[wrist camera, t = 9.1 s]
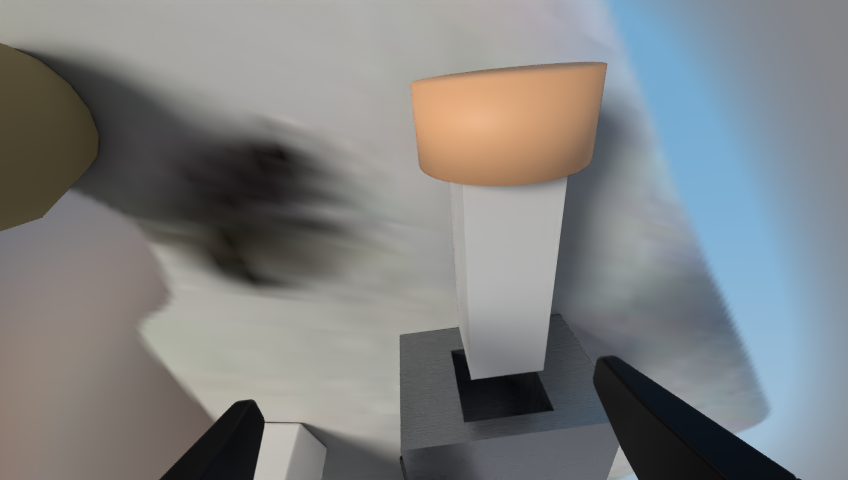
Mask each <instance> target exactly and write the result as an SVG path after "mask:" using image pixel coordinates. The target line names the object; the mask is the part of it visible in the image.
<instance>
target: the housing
mask: <svg viewBox="0 0 848 480" xmlns="http://www.w3.org/2000/svg"><path fill="white" fill-rule="evenodd" d="M594 370H595V367H594V366H593V364H592V363H591V361H590V359H589V358H588V356H587V355H586V353H585V352H584V350H583V349H582V347H581V346H580V344H579V342H578V341H577V339H576V338H575V336H574V335H573V333H572V332H571V330H570V328H569V327H568V325H567V324H566V322H565V321H564V319H563V318H562V316H561V315H560V314H559V315H551V316H550V321H549V329H548V337H547V345H546V353H545V361H544V369H543V370H541V371H533V372H526V373H518V374H511V375H503V376H496V377H488V378H481V379H473V380H471V376H470V372H469V367H468V363H467V359H466V354H465V350H464V346H463V342H462V337H461V333H460V329H459V328H451V329H444V330H436V331H428V332H421V333H413V334H405V335H400V417H401V453H402V457H403V461H404V465H405V469H406V473H407V477H408V480H607V477H608V474H609V472H610V469H611V466H612V463H613V461H614V458H615V455H616V453H617V450H618V447H619V442H618V440H617V438H616V435H615V433H614V431H613V428H612V426H611V424H610V422H609V419H608V417H607V415H606V412H605V410H604V408H603V405H602V403H601V401H600V399H599V396H598V394H597V392H596V389H595V387H594V384H593V374H594Z"/></svg>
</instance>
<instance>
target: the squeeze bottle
mask: <svg viewBox="0 0 848 480" xmlns="http://www.w3.org/2000/svg"><path fill="white" fill-rule="evenodd" d="M98 141H99V134H98V132H97V129H96V126H95V124H94V121H93V118H92V116H91V113H90V110H89V109H88V107H87V106H86V105H85V104H84V102H83V101H82V100H81V98H80V97H79V96H78V95H77V93H76V92H75V91H74V89H73V88H72V87H71V86H70V84H69V83H68V82H66V81H65V80H64V79H63V78H61V77H60V76H59V75H58V74H56V73H55V72H54V71H52V70H51V69H50V68H49V67H47V66H46V65H45V64H44V63H42V62H41V61H40V60H38V59H36V58H33V57H31V56H29V55H27V54H24V53H22V52H20V51H18V50H15V49H13V48H11V47H9V46H7V45H4V44H1V43H0V231H2V230H6V229H9V228H12V227H15V226H18V225H21V224H24V223H27V222H30V221H33V220H36V219H39V218H42V217H43V216H44V215H45V214H46V213H47V212H48V211H49V210H50V209H51V207H52V206H53V205H54V204H55V203H56V202H57V201H58V200H59V199H60V198H61V197H62V196H63V195H64V194H65V193H66V192H67V191H68V189H69V188H70V187H71V186H72V185H73V184H74V183H75V182H76V181H77V180H78V179H79V178H80V177H81V176H82V175H83V174H84V173H85V171H86V170H87V169H88V168H89V166H90V165H91V164H92V163H93V161H94V160H95V159H96V158H97V154H98Z"/></svg>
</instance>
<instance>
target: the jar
mask: <svg viewBox="0 0 848 480" xmlns="http://www.w3.org/2000/svg"><path fill="white" fill-rule="evenodd" d="M326 452H327V448H326V447H325V446H324V445H323V444H322V443H321V442H320V441H319V440H317V439H316V438H315V437H314V436H313V435H312V434H311V433H310V432H309V431H308V430H307V429H306V428H305V427H304V426H303V425H302V424H300V423H265V427H264V432H263V437H262V442H261V447H260V451H259V456H258V461H257V466H256V470H255V475H254V480H322V475H323V469H324V463H325V458H326Z"/></svg>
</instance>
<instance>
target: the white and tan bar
mask: <svg viewBox="0 0 848 480" xmlns="http://www.w3.org/2000/svg"><path fill="white" fill-rule="evenodd" d="M606 69H607V63H603V62H573V63H555V64H541V65H529V66H518V67H508V68H498V69H489V70H480V71H472V72H465V73H457V74H450V75H444V76H438V77H432V78H427V79H422V80H418V81H414V82H412V83H410V86H411V95H412V104H413V113H414V122H415V131H416V139H417V148H418V157H419V166H420V169H421V170H422V171H423V172H424V173H425V174H427V175H429V176H431V177H433V178H436V179H439V180H442V181H447V182H450V197H451V212H452V227H453V242H454V258H455V273H456V288H457V303H458V319H459V329H460V333H461V337H462V342H463V346H464V350H465V354H466V359H467V363H468V367H469V372H470V376H471V380H473V379H481V378H488V377H496V376H503V375H511V374H518V373H526V372H533V371H541V370H543V369H544V361H545V353H546V345H547V337H548V329H549V321H550V313H551V305H552V297H553V289H554V281H555V273H556V265H557V257H558V249H559V241H560V233H561V225H562V217H563V209H564V201H565V193H566V185H567V177H568V176H569V175H572V174H574V173H577V172H579V171H581V170H583V169H584V168H585V167H587V166H588V165H589V164H590V163H591V161H592V157H593V150H594V144H595V138H596V132H597V125H598V119H599V113H600V107H601V101H602V94H603V88H604V82H605V76H606Z"/></svg>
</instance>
